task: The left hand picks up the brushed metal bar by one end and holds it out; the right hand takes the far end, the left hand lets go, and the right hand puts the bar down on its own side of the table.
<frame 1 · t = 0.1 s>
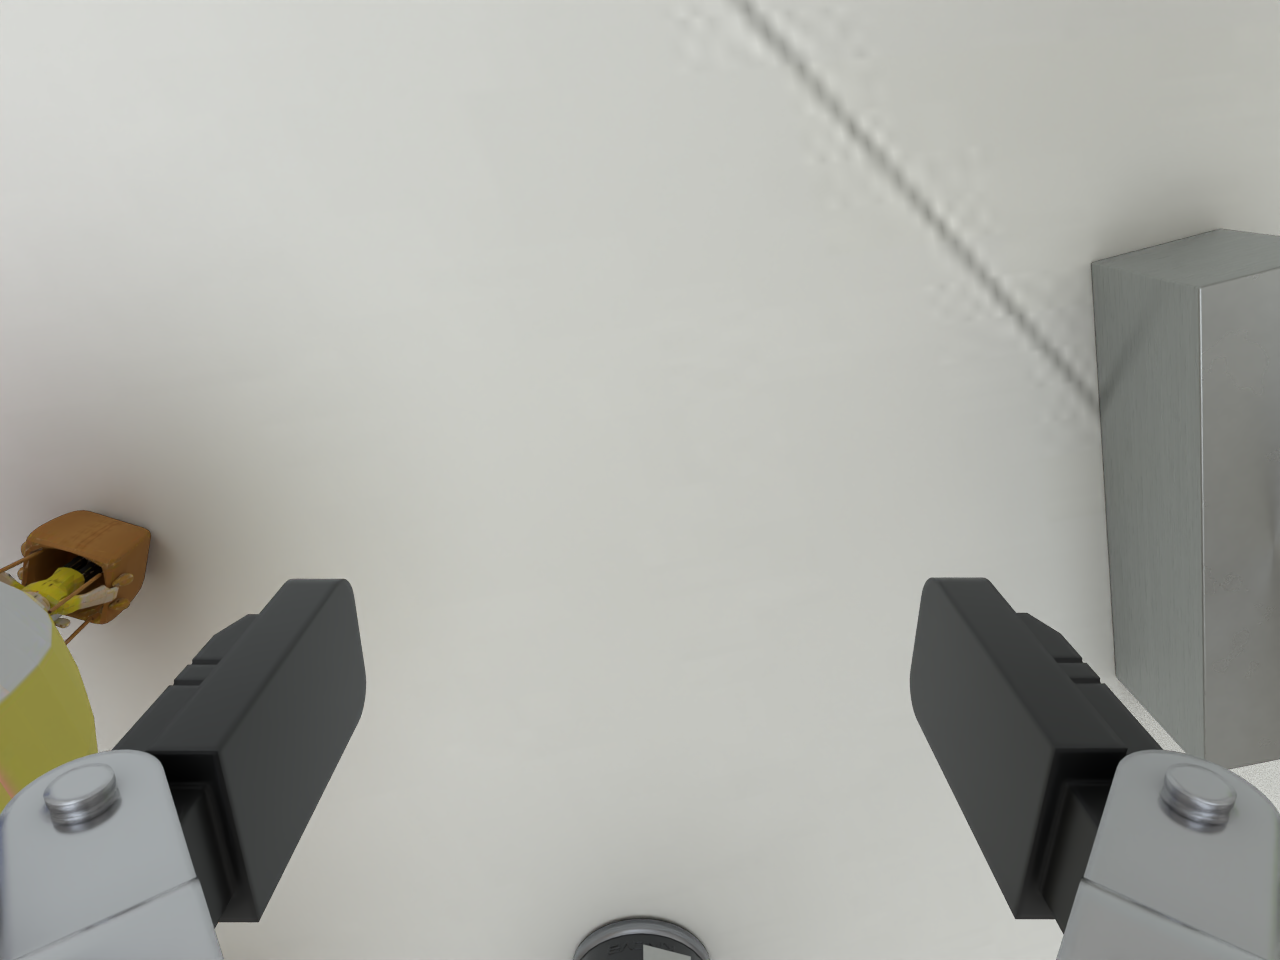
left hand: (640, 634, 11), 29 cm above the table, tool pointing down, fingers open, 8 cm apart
toy: (118, 543, 43), on the table
bar: (1162, 477, 42), on the table
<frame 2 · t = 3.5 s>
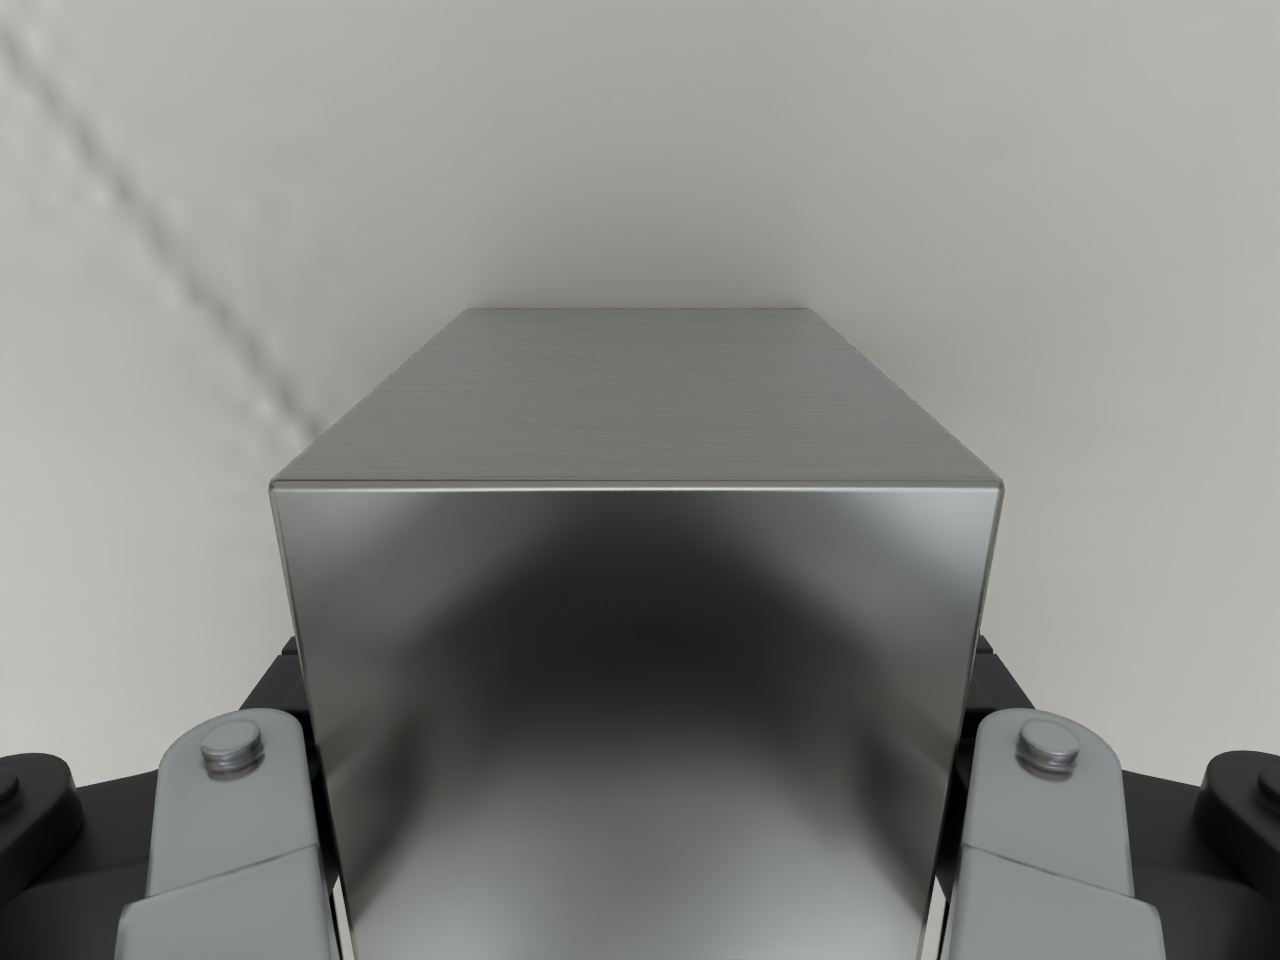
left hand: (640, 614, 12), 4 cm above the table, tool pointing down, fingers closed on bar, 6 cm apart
bar: (639, 845, 18), on the table, touching left hand
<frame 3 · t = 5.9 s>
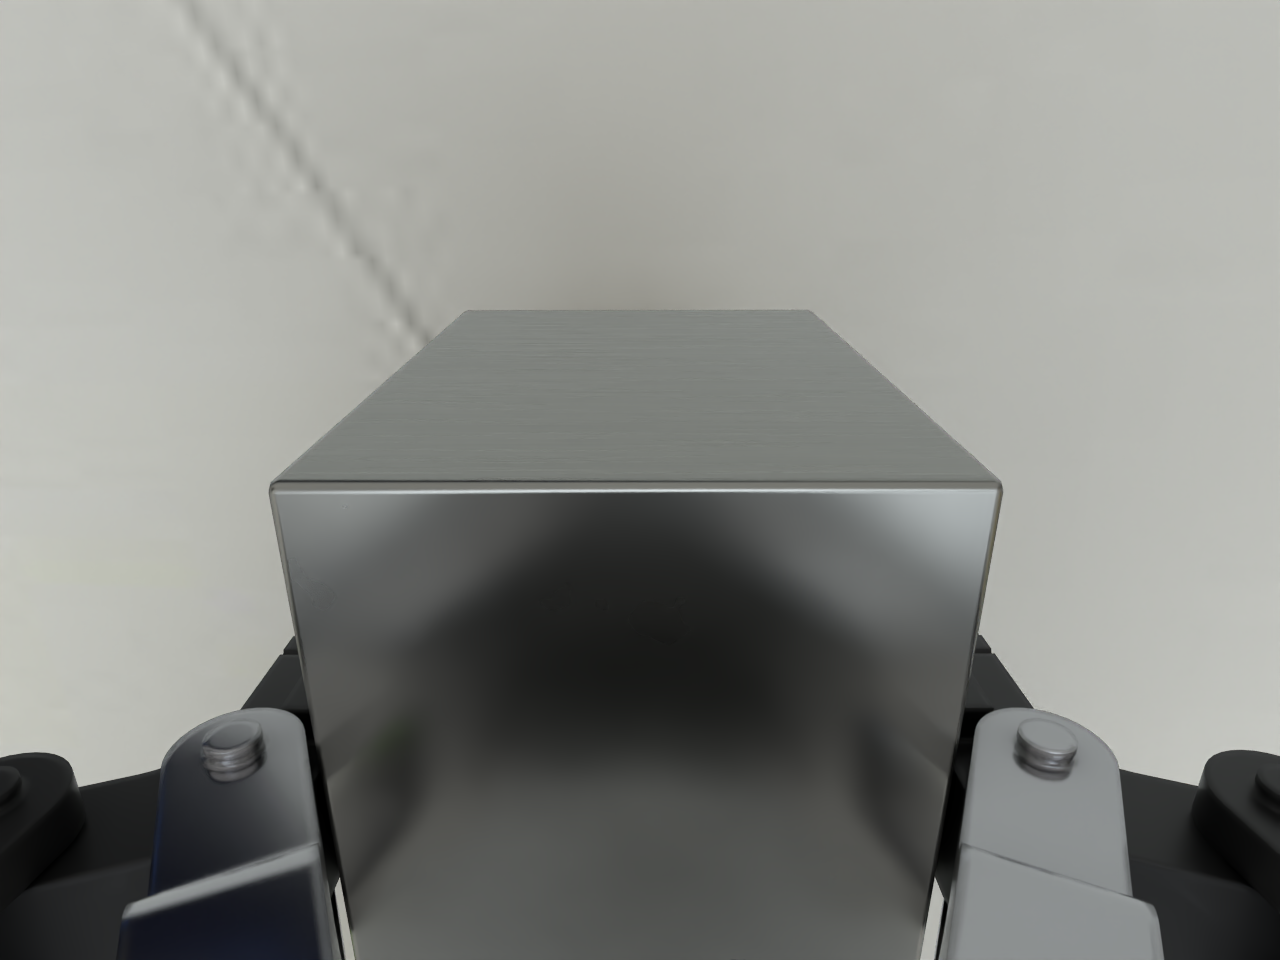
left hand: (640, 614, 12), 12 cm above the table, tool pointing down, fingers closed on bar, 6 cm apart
bar: (639, 846, 18), point 9 cm above the table, touching left hand
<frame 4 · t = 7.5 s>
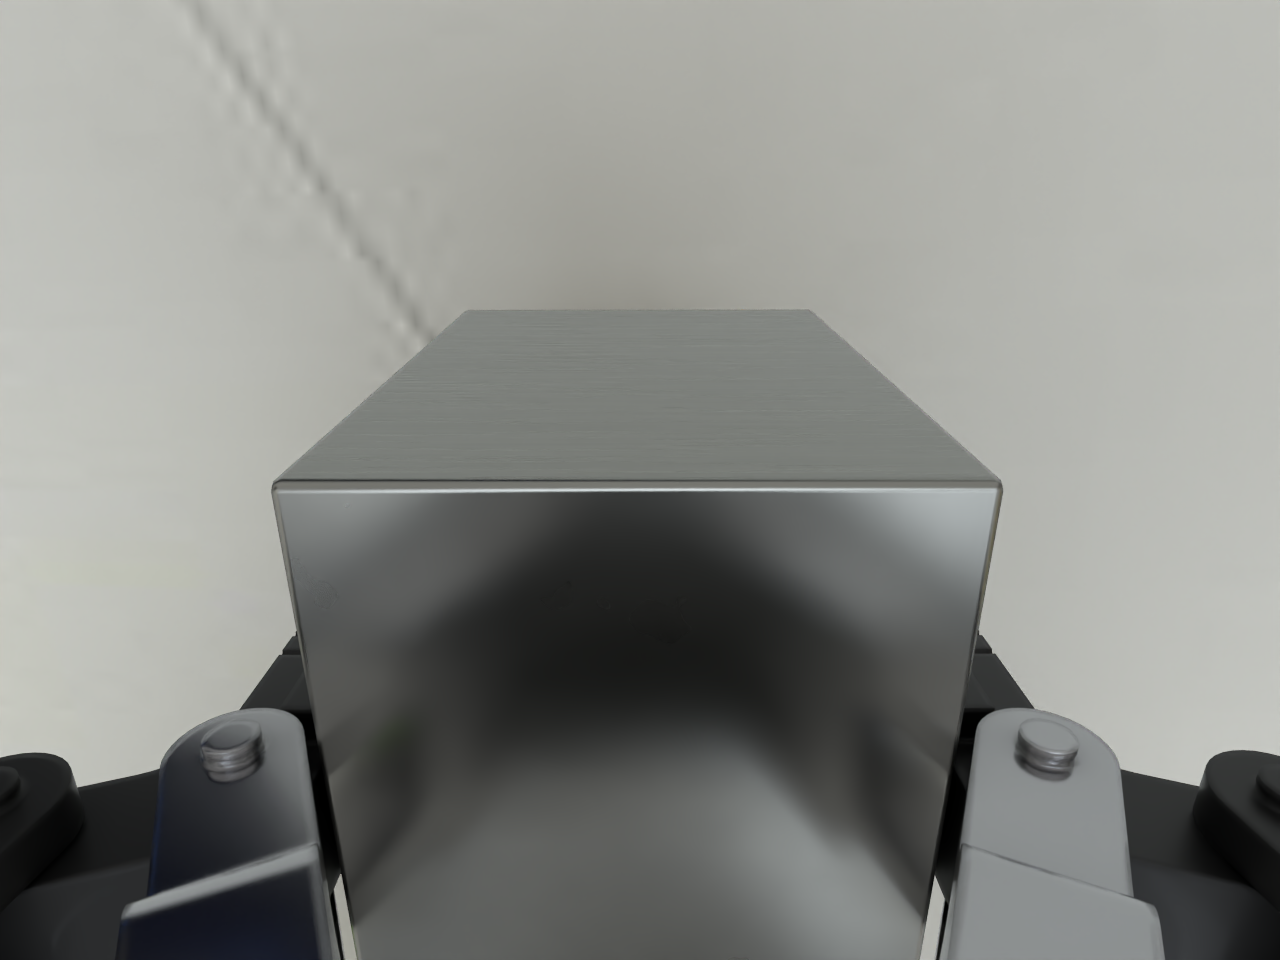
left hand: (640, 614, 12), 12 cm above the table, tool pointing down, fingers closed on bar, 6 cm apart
bar: (639, 845, 18), point 8 cm above the table, touching left hand, right hand
when the left hand's fingers open (12 cm above the table, at t = 8.7 s): bar moves 1 cm, held by the right hand.
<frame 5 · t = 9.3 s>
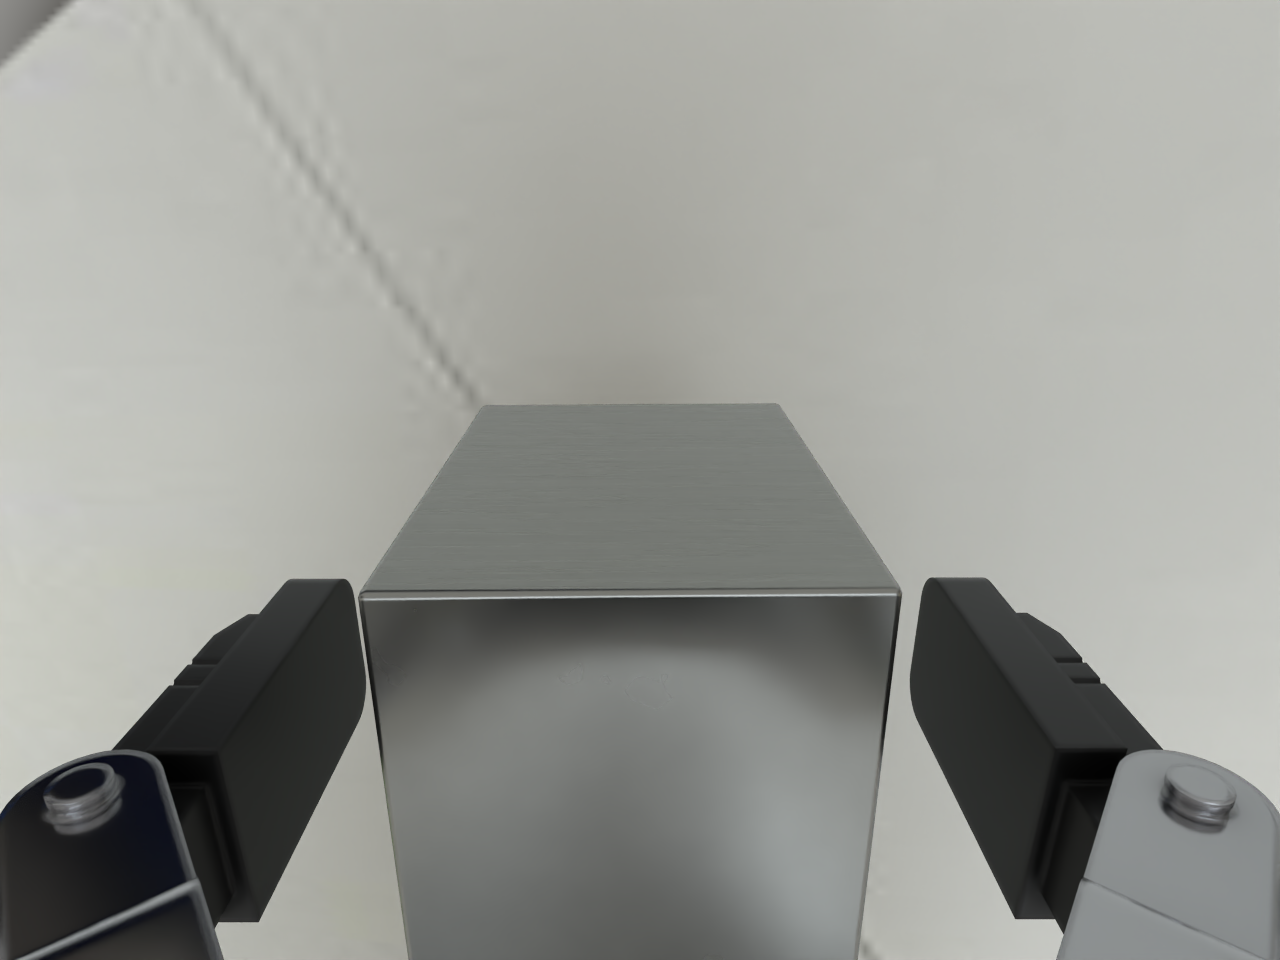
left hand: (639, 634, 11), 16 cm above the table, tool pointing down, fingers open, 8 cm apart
bar: (634, 868, 20), point 10 cm above the table, touching right hand
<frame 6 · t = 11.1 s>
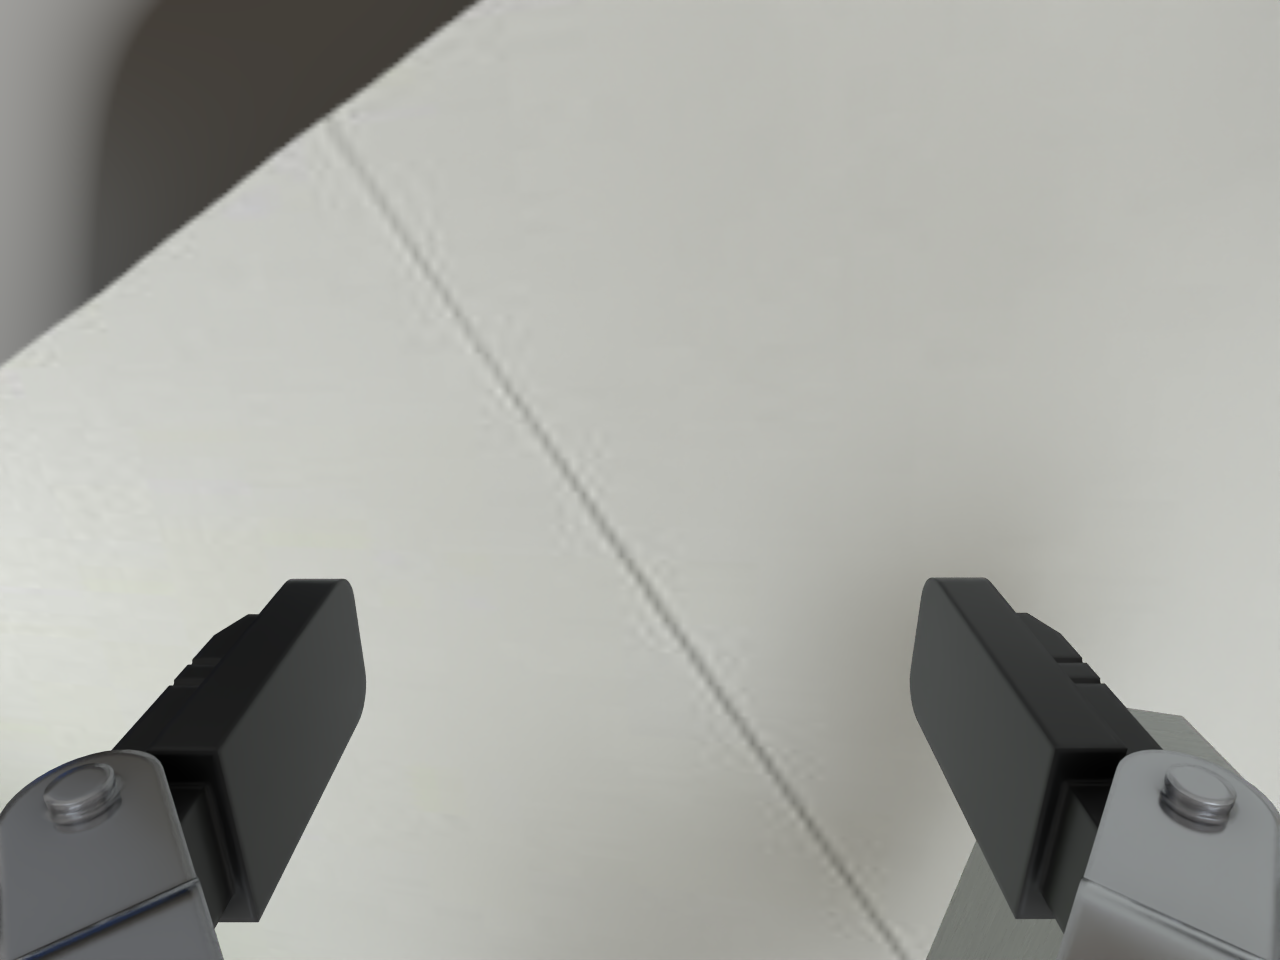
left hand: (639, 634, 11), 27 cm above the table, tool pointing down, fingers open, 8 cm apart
bar: (1006, 928, 36), point 11 cm above the table, touching right hand
when the right hand's fingers open (4 cm above the table, at t = 15.1 s): bar drops 2 cm, on the table.
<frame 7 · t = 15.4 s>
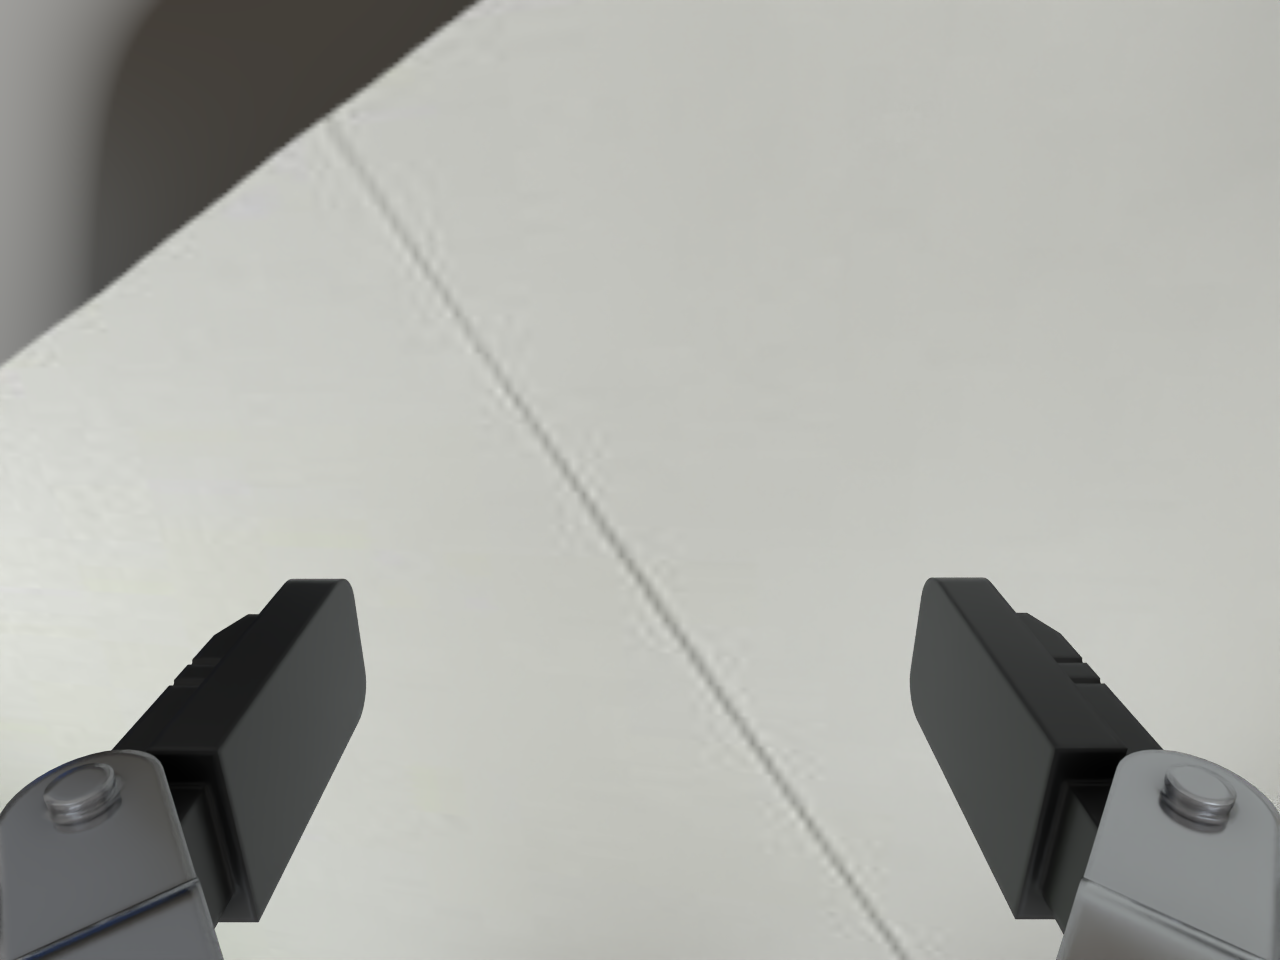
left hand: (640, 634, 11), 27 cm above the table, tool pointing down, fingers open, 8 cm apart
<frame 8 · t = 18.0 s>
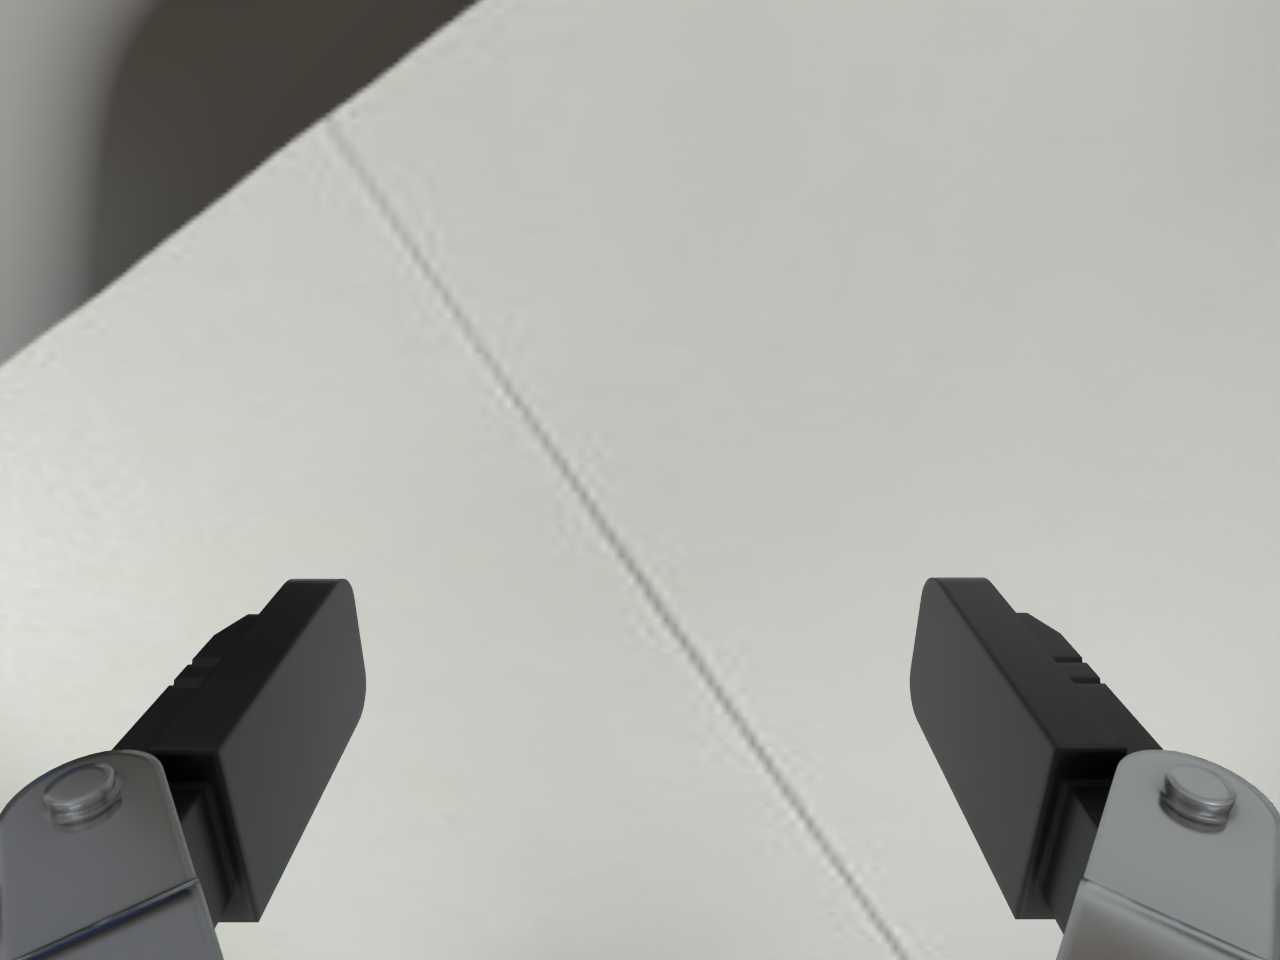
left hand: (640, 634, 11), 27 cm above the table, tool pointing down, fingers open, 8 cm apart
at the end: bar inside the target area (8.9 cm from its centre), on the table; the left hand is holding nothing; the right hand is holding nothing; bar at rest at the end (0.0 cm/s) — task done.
